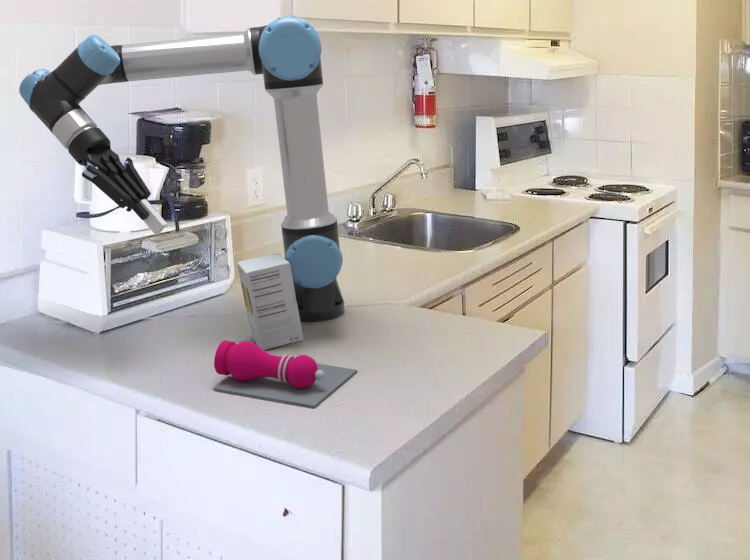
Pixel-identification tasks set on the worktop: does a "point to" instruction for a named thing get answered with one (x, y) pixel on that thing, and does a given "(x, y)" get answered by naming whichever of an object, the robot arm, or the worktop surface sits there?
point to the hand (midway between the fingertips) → (161, 229)
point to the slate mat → (290, 387)
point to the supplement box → (270, 300)
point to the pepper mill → (264, 364)
